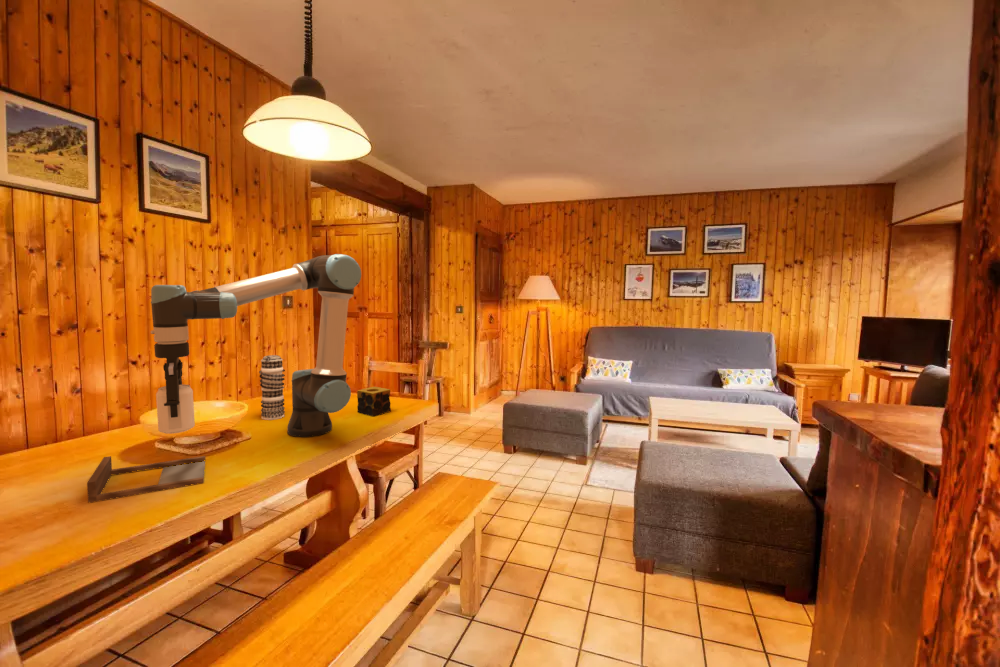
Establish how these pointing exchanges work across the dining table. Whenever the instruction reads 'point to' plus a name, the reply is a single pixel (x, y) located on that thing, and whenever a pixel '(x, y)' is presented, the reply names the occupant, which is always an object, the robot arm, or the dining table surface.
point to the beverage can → (186, 410)
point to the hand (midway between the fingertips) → (176, 423)
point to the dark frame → (169, 475)
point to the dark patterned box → (373, 401)
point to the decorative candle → (272, 387)
